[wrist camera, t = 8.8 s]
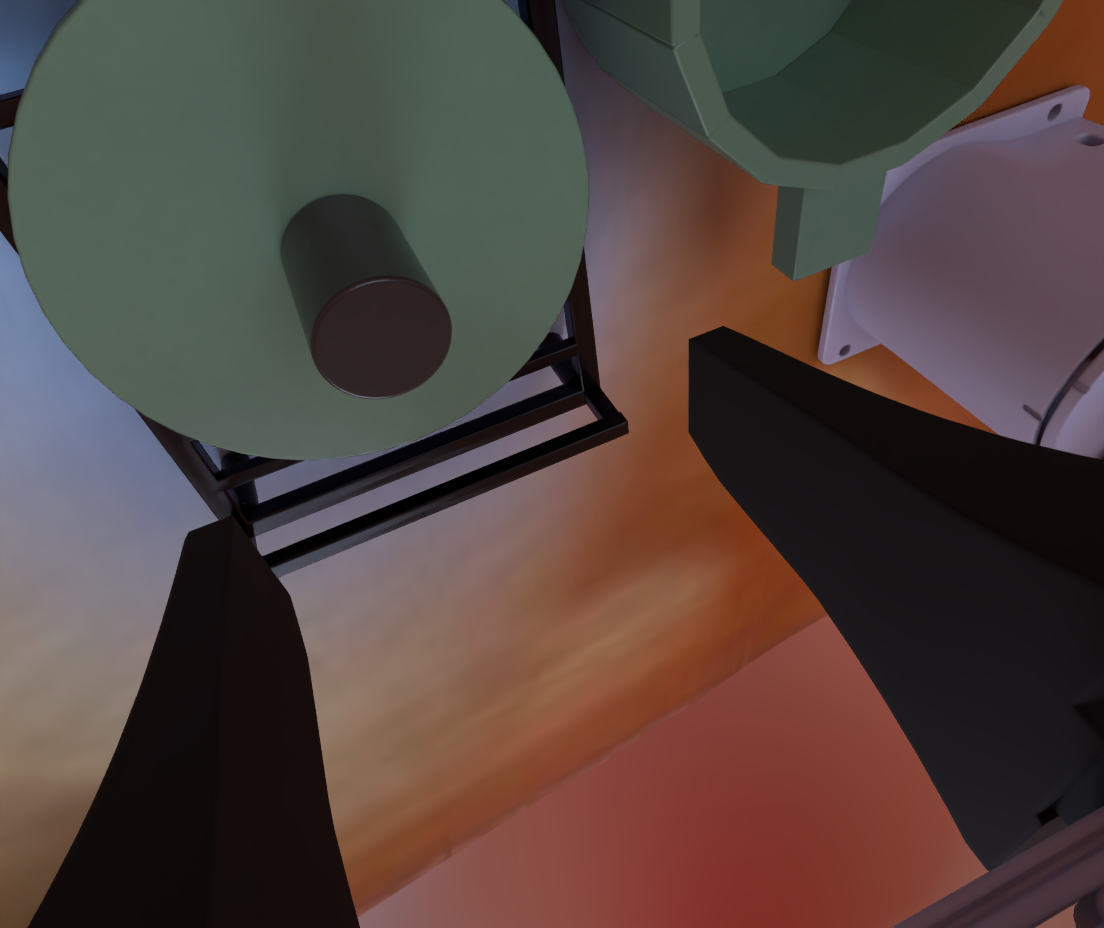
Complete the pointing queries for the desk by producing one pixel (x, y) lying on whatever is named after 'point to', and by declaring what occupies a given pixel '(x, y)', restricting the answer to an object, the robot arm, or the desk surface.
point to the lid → (298, 211)
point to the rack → (567, 359)
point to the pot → (813, 92)
